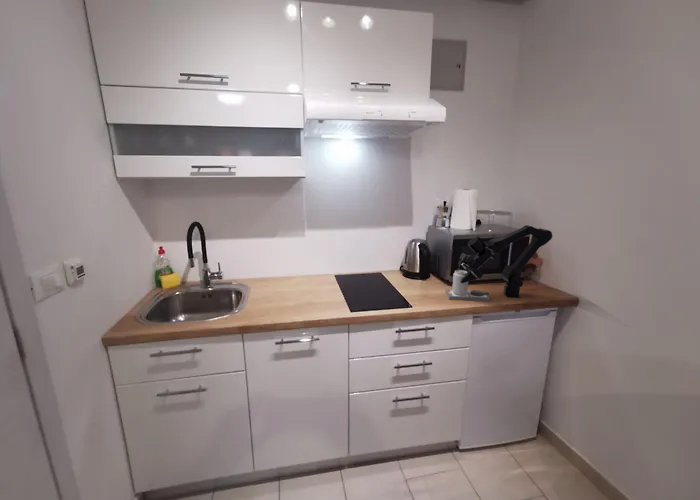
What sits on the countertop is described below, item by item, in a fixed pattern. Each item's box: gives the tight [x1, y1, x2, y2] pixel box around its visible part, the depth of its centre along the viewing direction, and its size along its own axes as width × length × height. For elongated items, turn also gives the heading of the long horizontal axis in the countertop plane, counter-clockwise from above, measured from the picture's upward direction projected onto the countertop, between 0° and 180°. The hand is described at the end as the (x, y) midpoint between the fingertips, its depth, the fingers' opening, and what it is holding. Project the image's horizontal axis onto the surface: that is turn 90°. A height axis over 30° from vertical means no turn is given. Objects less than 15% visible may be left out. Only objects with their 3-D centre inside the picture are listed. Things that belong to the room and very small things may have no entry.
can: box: [451, 269, 469, 295], centre depth 169 cm, size 8×8×12 cm
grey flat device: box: [445, 289, 491, 302], centre depth 170 cm, size 21×10×3 cm, turn 84°
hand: (457, 279), depth 169 cm, fingers open, 9 cm apart
